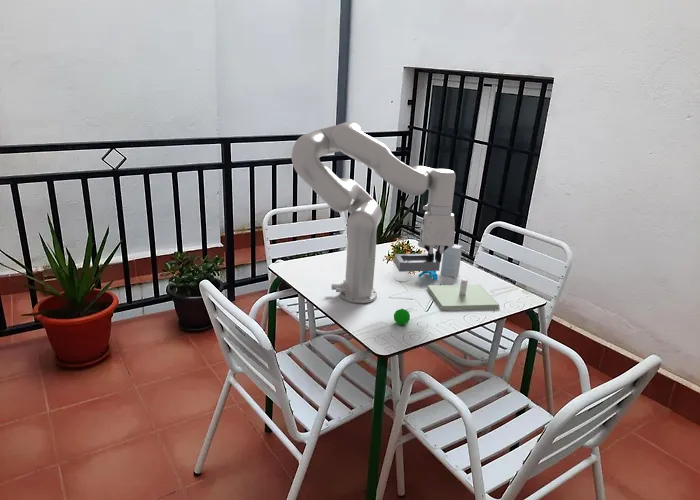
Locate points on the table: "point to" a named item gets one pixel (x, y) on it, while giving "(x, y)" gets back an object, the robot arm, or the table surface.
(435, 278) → the blue lumpy piece
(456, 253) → the skincare box
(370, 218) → the robot arm
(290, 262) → the table surface
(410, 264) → the grey hollow rectangular box
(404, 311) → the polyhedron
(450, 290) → the keeper board
